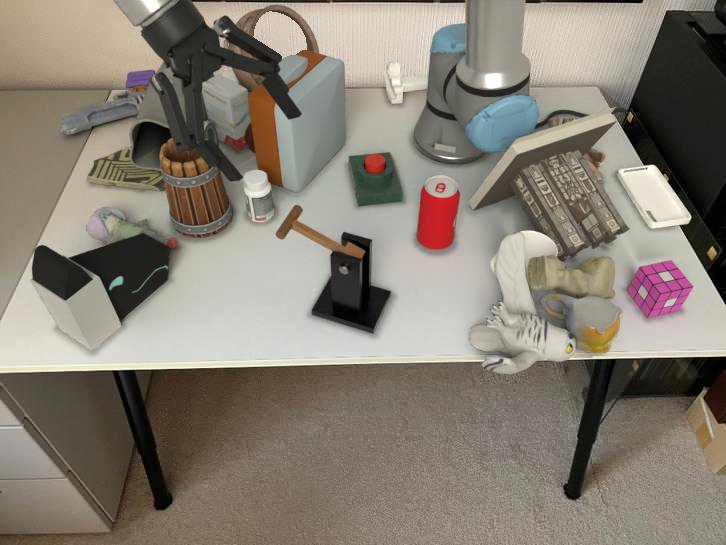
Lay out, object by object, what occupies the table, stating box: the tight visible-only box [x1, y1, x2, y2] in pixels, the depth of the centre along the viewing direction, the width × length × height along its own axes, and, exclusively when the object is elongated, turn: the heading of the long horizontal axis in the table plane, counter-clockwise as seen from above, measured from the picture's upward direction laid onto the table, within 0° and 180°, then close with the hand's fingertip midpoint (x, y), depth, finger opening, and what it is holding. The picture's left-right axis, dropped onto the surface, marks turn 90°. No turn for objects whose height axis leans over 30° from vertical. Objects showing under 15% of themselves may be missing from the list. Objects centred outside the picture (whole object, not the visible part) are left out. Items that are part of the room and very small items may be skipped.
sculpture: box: [528, 254, 616, 300], centre depth 93 cm, size 6×7×15 cm
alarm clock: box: [248, 50, 347, 193], centre depth 112 cm, size 18×9×21 cm, turn 152°
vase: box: [128, 61, 215, 172], centre depth 121 cm, size 12×12×30 cm
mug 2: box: [539, 291, 623, 354], centre depth 91 cm, size 12×7×7 cm, turn 50°
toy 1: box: [86, 206, 178, 249], centre depth 103 cm, size 11×5×15 cm
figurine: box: [547, 116, 606, 191], centre depth 119 cm, size 7×5×20 cm
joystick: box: [383, 60, 428, 105], centre depth 134 cm, size 11×8×20 cm
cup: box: [489, 230, 558, 287], centre depth 98 cm, size 8×10×7 cm
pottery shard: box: [86, 147, 166, 192], centre depth 115 cm, size 11×16×2 cm, turn 49°
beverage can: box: [416, 174, 461, 251], centre depth 102 cm, size 6×6×12 cm
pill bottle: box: [242, 169, 276, 223], centre depth 107 cm, size 5×5×8 cm
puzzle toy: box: [627, 259, 694, 319], centre depth 95 cm, size 6×6×6 cm
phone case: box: [616, 164, 692, 230], centre depth 113 cm, size 7×1×15 cm
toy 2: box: [468, 231, 577, 375], centre depth 88 cm, size 24×13×15 cm
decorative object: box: [29, 233, 171, 352], centre depth 91 cm, size 8×18×15 cm, turn 147°
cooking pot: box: [223, 4, 320, 94], centre depth 131 cm, size 25×19×12 cm
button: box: [365, 153, 385, 173], centre depth 113 cm, size 4×4×2 cm
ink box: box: [202, 73, 251, 151], centre depth 121 cm, size 9×5×12 cm, turn 48°
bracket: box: [311, 231, 392, 335], centre depth 91 cm, size 10×8×13 cm
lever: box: [275, 204, 365, 259], centre depth 88 cm, size 12×6×2 cm, turn 69°
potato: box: [245, 122, 256, 155], centre depth 120 cm, size 7×8×7 cm
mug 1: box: [159, 120, 233, 239], centre depth 105 cm, size 16×11×15 cm
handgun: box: [60, 69, 157, 136], centre depth 131 cm, size 3×22×15 cm
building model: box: [467, 106, 631, 263], centre depth 103 cm, size 20×20×18 cm
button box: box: [348, 151, 404, 207], centre depth 115 cm, size 8×12×4 cm, turn 9°
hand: (267, 147), depth 87 cm, fingers open, 13 cm apart
